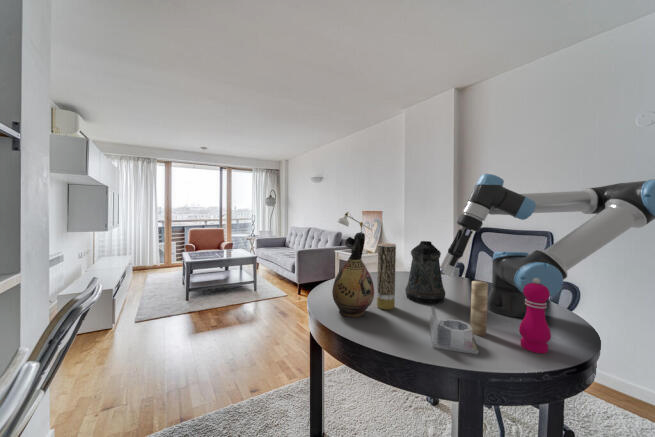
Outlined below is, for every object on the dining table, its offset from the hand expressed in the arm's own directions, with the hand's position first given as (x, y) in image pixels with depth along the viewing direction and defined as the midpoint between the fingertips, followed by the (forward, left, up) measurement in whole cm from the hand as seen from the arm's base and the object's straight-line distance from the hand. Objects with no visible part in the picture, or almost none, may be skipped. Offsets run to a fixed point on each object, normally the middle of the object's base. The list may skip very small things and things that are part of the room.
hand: (444, 272), depth 99 cm
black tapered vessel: (+5, -22, -17) cm, 28 cm away
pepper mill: (-22, +14, -17) cm, 32 cm away
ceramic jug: (+32, +3, -17) cm, 36 cm away
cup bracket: (-1, +17, -17) cm, 24 cm away
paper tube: (+21, -6, -17) cm, 27 cm away
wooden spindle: (-9, +8, -17) cm, 21 cm away
